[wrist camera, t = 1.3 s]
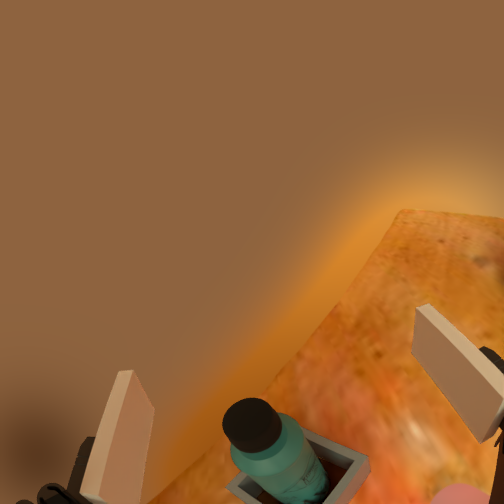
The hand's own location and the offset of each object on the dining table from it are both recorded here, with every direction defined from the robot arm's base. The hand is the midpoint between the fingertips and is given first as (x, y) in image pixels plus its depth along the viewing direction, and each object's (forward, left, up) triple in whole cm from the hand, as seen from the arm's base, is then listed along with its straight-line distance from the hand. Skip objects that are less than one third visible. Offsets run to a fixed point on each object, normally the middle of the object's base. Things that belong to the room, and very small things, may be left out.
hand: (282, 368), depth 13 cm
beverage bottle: (+5, +1, -28) cm, 28 cm away
